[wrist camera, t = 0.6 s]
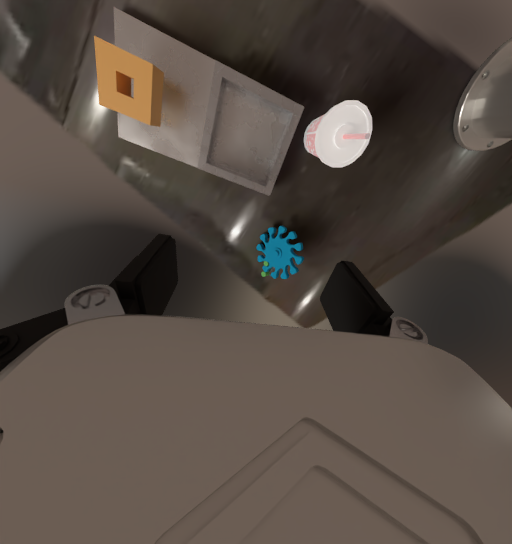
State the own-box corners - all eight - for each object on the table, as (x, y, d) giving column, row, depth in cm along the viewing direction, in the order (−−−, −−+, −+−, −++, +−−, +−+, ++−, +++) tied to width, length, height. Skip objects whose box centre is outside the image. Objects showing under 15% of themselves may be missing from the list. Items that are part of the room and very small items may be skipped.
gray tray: (298, 106, 26) (306, 101, 23) (266, 192, 33) (268, 199, 29) (119, 12, 21) (94, -13, 17) (123, 137, 27) (104, 137, 24)
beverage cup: (329, 164, 30) (378, 180, 19) (293, 155, 30) (322, 166, 18) (347, 116, 27) (420, 100, 16) (306, 105, 26) (353, 79, 15)
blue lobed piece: (273, 213, 33) (312, 254, 30) (290, 214, 38) (325, 250, 35) (244, 256, 40) (274, 293, 37) (261, 253, 44) (289, 285, 41)
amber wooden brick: (164, 72, 21) (152, 64, 18) (160, 126, 23) (150, 125, 21) (113, 48, 20) (94, 35, 17) (115, 108, 22) (99, 104, 20)
